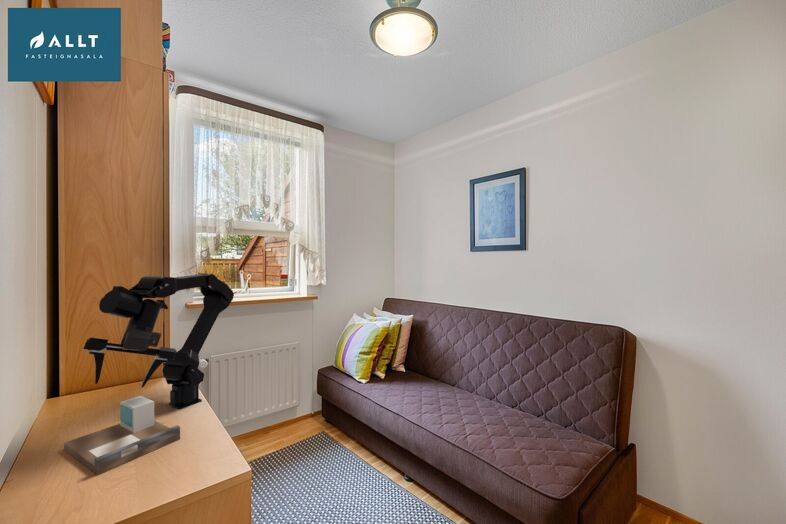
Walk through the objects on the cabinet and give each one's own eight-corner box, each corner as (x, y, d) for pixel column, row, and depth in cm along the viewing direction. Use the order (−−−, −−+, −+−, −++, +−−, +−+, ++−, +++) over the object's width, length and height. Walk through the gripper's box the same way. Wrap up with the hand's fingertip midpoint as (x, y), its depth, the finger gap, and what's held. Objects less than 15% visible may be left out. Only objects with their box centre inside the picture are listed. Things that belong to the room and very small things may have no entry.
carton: (140, 418, 90) (140, 395, 90) (154, 425, 87) (154, 401, 87) (119, 426, 86) (118, 402, 86) (132, 433, 83) (132, 408, 83)
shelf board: (143, 420, 92) (143, 409, 92) (180, 439, 83) (180, 426, 83) (64, 449, 79) (63, 435, 78) (97, 475, 69) (97, 460, 69)
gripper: (97, 310, 79) (67, 383, 73) (188, 326, 89) (168, 390, 83) (97, 316, 87) (70, 381, 81) (180, 329, 97) (162, 388, 92)
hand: (119, 385), depth 84 cm, fingers open, 9 cm apart
